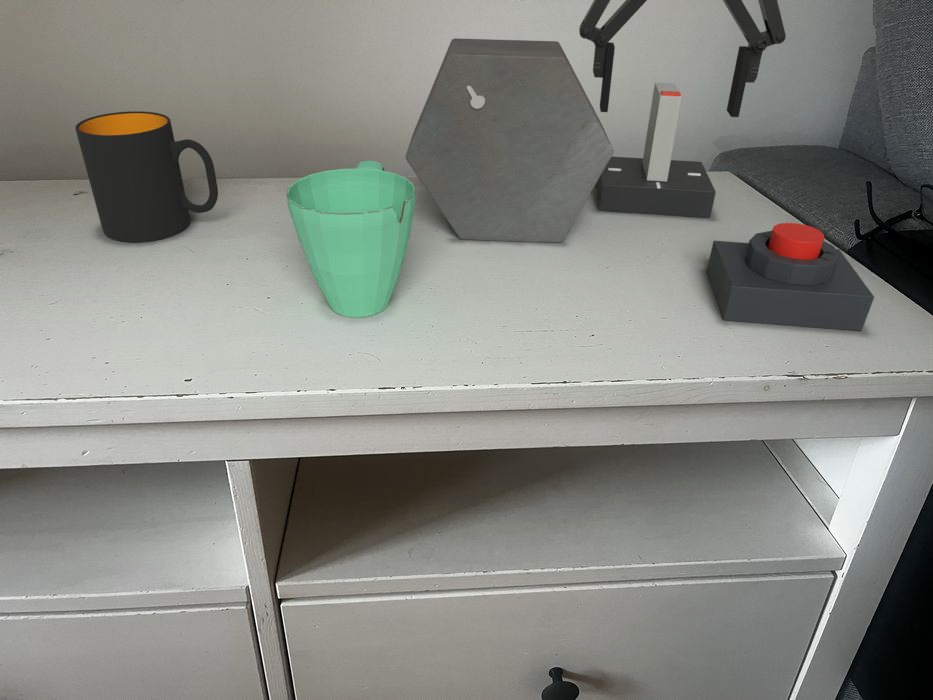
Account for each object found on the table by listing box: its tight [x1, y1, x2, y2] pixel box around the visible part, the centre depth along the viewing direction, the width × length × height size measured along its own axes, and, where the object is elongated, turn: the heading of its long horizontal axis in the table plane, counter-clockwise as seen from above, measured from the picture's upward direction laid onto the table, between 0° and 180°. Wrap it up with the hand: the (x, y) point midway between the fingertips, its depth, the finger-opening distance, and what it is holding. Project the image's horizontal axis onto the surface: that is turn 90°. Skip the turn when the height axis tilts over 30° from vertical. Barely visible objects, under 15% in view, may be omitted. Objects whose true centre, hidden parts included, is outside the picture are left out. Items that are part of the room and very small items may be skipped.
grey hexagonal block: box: [405, 37, 615, 243], centre depth 70 cm, size 17×8×21 cm
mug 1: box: [75, 110, 219, 243], centre depth 70 cm, size 8×12×10 cm
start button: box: [768, 222, 825, 260], centre depth 60 cm, size 4×4×2 cm
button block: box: [706, 230, 875, 332], centre depth 61 cm, size 11×9×5 cm
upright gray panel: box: [642, 82, 683, 182], centre depth 79 cm, size 6×2×9 cm, turn 173°
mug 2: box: [285, 160, 416, 319], centre depth 60 cm, size 15×10×10 cm
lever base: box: [596, 156, 717, 219], centre depth 82 cm, size 12×10×3 cm
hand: (667, 111), depth 77 cm, fingers open, 13 cm apart
